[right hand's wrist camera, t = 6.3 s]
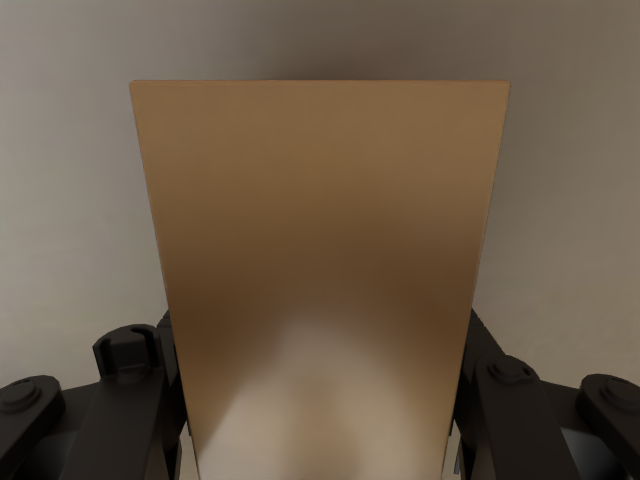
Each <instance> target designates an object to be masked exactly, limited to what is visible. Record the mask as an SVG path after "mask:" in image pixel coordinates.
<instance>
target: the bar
mask: <svg viewBox="0 0 640 480" xmlns="http://www.w3.org/2000/svg"><path fill="white" fill-rule="evenodd" d="M510 87H511V85H510V82H509V81H507V80H134V81H132V82H130V84H129V88H130V94H131V100H132V105H133V111H134V117H135V122H136V128H137V133H138V139H139V145H140V150H141V156H142V162H143V167H144V173H145V178H146V184H147V190H148V195H149V201H150V206H151V212H152V218H153V223H154V229H155V235H156V240H157V246H158V251H159V257H160V263H161V268H162V274H163V280H164V285H165V291H166V296H167V302H168V308H169V313H170V319H171V325H172V330H173V336H174V341H175V347H176V353H177V358H178V364H179V370H180V375H181V381H182V386H183V392H184V398H185V403H186V409H187V414H188V420H189V426H190V431H191V437H192V443H193V448H194V454H195V459H196V465H197V471H198V476H199V480H441V477H442V471H443V466H444V460H445V454H446V449H447V443H448V438H449V432H450V426H451V421H452V415H453V409H454V404H455V398H456V392H457V387H458V381H459V375H460V370H461V364H462V358H463V353H464V347H465V342H466V336H467V330H468V325H469V319H470V313H471V308H472V302H473V296H474V291H475V285H476V279H477V274H478V268H479V263H480V257H481V251H482V246H483V240H484V234H485V229H486V223H487V217H488V212H489V206H490V200H491V195H492V189H493V183H494V178H495V172H496V167H497V161H498V155H499V150H500V144H501V138H502V133H503V127H504V121H505V116H506V110H507V104H508V99H509V93H510Z"/></svg>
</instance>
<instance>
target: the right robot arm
mask: <svg viewBox="0 0 640 480" xmlns="http://www.w3.org/2000/svg"><path fill="white" fill-rule="evenodd" d="M92 348H93V351H94V355H95V359H96V362H97V366H98V369H99V373H100V376H101V379H100V381H99V382H97V383H93V384H90V385H85V386H81V387H76V388H72V389H67V390H63V391H62V390H61V387H60V384H59V381H58V380H57V379H55V378H54V377H52V376H46V375H40V376H32V377H28V378H24V379H22V380H18V381H15V382H13V383H11V384H9V385H7V386H6V387H4V388H2V389H0V480H179V475H180V465H181V456H182V448H181V441H180V434H181V432H182V429H183V427H184V424H185V422H186V420H187V426H188V431H189V436H191V431H190V426H189V420H188V414H187V409H186V403H185V398H184V392H183V386H182V381H181V375H180V370H179V364H178V358H177V353H176V347H175V341H174V336H173V330H172V325H171V319H170V313H169V309H168V311H167V312H166V313H165V315H164V316H163V319H161V320H160V322H159V323H158V325H157V328H155V327H154V326H151V325H147V324H133V325H128V326H124V327H120V328H118V329H115V330H113V331H111V332H108V333H107V334H105V335H104V336H102V337H101V338H99V339H98V340H97V342H96V343H95V344H94V345H93V346H92ZM454 419H455V422H456V424H457V427H458V429H459V431H460V434H461V436H460V441H459V447H458V452H457V457H456V462H455V468H454V474H457V475H459V470H460V474H461V480H640V387H639V386H637V385H635V384H633V383H631V382H629V381H627V380H624V379H622V378H618V377H615V376H612V375H605V374H592V375H587V376H586V377H585V378H584V379H582V382H581V385H580V388H579V389H576V388H571V387H567V386H562V385H558V384H553V383H549V382H545V381H542V380H540V378H539V377H538V375H537V374H536V372H535V371H534V369H532V368H531V367H530V366H529V365H527V364H526V363H525V362H523V361H521V360H519V359H517V358H515V357H513V356H509V355H505V353H504V352H503V351H502V349H501V348H500V346H499V345H498V344H497V342H496V341H495V339H494V338H493V337H492V335H491V334H490V332H489V331H488V330H487V328H486V327H485V326H484V324H483V323H482V321H481V320H480V318H478V317H477V314H476V313H475V311H474V310H473V309H472V308H471V313H470V319H469V325H468V330H467V336H466V342H465V347H464V353H463V358H462V364H461V370H460V375H459V381H458V387H457V392H456V398H455V404H454V409H453V415H452V421H451V426H450V432H449V436H451V433H452V427H453V422H454Z"/></svg>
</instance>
